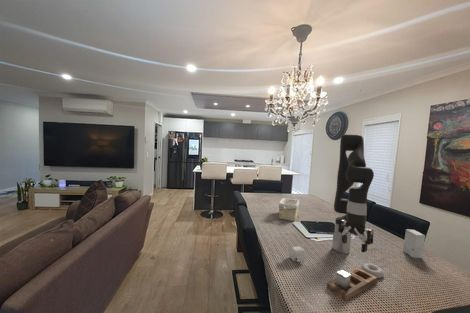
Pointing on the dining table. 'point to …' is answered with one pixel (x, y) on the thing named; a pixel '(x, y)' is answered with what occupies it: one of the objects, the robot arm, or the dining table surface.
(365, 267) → the donut
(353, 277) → the wooden compartment tray
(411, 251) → the skincare box
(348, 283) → the silver metal block
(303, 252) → the elephant figurine
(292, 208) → the storage basket
